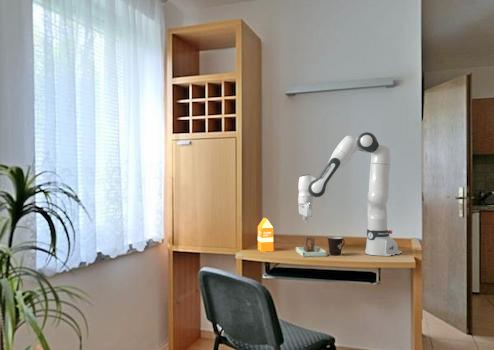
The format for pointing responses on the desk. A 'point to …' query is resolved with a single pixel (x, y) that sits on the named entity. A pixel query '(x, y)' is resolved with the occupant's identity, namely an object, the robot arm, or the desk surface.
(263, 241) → the orange juice
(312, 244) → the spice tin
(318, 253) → the tray
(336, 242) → the coffee mug
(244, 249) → the desk surface
